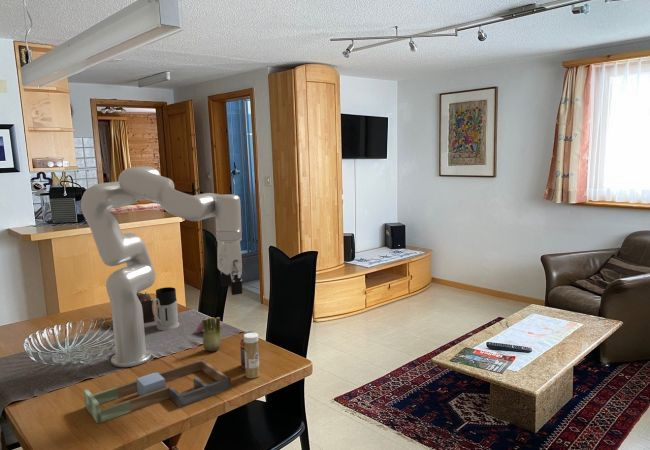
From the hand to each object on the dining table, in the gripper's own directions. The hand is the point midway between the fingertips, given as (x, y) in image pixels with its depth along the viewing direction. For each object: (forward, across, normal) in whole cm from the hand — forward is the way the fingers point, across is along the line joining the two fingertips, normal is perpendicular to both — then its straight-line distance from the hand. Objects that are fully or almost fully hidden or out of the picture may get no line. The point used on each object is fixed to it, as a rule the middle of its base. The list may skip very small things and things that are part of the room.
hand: (231, 290), depth 150 cm
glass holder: (+28, -51, -11) cm, 59 cm away
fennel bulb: (+27, -20, -1) cm, 34 cm away
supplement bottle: (+27, -1, +6) cm, 28 cm away
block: (+27, +1, -26) cm, 37 cm away
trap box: (+27, +4, -24) cm, 36 cm away
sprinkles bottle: (+27, +5, +4) cm, 28 cm away
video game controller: (+28, -36, +3) cm, 46 cm away
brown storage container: (+28, -69, -18) cm, 77 cm away
